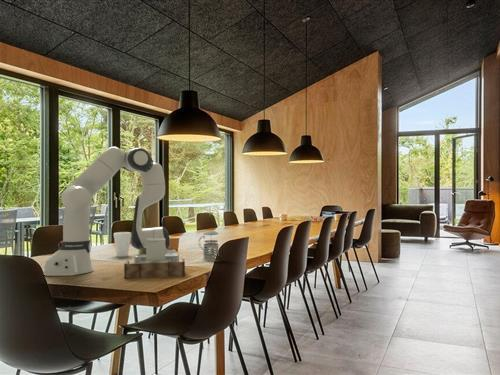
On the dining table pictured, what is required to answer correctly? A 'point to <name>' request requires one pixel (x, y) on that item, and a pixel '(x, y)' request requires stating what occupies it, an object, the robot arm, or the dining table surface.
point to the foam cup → (122, 243)
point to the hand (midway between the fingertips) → (156, 261)
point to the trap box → (154, 269)
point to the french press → (210, 246)
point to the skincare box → (155, 249)
